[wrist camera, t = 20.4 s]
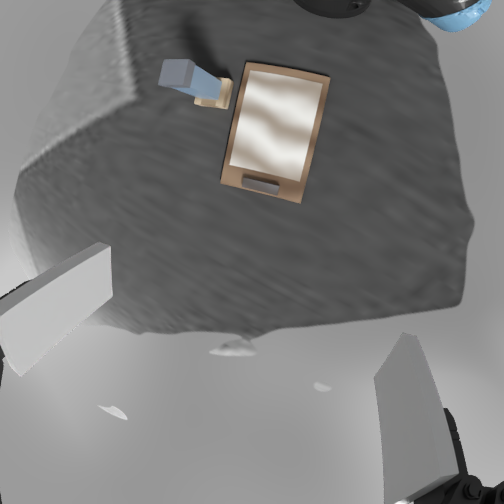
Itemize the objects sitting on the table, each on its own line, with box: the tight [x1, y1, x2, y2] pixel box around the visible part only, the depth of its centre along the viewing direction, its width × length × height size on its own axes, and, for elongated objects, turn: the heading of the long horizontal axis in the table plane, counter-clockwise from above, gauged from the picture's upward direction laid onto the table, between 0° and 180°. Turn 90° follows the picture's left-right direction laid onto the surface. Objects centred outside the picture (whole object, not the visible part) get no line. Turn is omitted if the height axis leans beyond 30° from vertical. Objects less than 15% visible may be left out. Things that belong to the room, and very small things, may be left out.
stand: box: [194, 77, 234, 109], centre depth 40 cm, size 5×5×3 cm
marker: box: [158, 59, 222, 100], centre depth 33 cm, size 4×4×14 cm
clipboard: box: [220, 62, 330, 203], centre depth 41 cm, size 22×14×1 cm, turn 169°
